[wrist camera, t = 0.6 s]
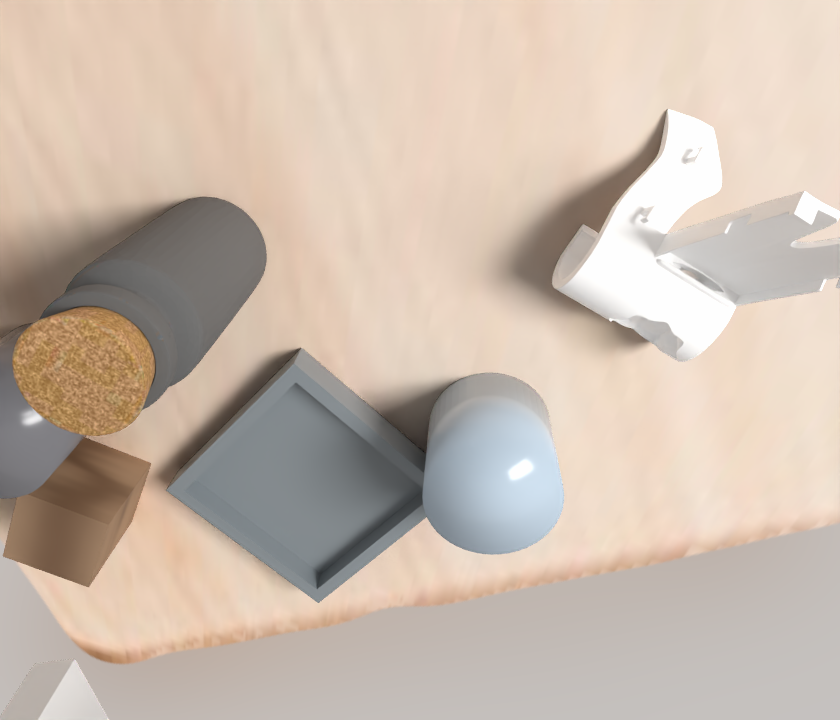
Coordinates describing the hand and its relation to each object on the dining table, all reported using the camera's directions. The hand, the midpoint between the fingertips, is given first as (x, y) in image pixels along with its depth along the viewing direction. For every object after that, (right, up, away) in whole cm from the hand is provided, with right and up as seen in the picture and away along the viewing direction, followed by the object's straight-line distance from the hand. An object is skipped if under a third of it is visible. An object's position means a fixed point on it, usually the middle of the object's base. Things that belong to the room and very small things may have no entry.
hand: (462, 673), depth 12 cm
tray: (-7, -2, +33) cm, 33 cm away
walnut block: (-21, -2, +34) cm, 40 cm away
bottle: (-12, +11, +27) cm, 31 cm away
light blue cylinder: (+3, +1, +31) cm, 31 cm away
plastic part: (+12, +12, +25) cm, 30 cm away
